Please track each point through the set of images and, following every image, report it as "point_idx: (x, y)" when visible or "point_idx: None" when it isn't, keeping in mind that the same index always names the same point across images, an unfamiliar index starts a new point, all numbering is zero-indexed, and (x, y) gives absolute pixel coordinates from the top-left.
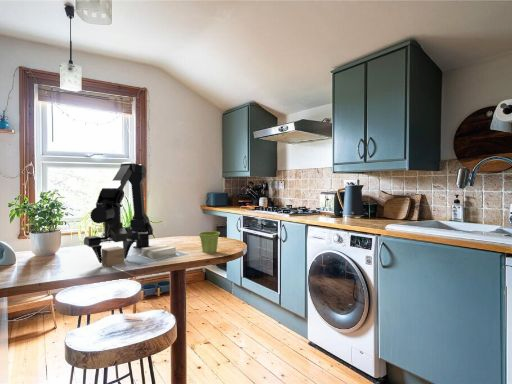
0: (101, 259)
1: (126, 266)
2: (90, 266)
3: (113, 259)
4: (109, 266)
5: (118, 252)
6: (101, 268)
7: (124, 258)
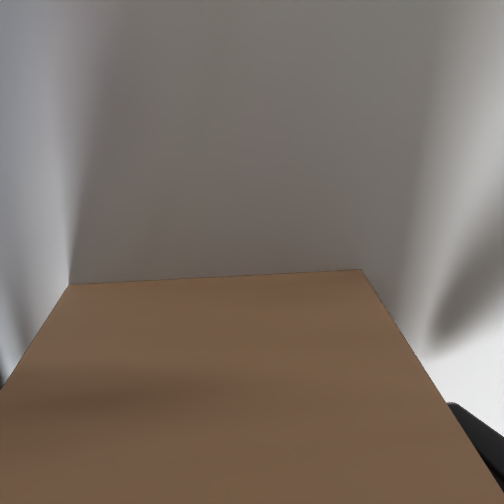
0: (481, 447)
1: (88, 46)
2: None
3: (287, 347)
4: (342, 273)
5: (139, 495)
6: (479, 254)
7: None
